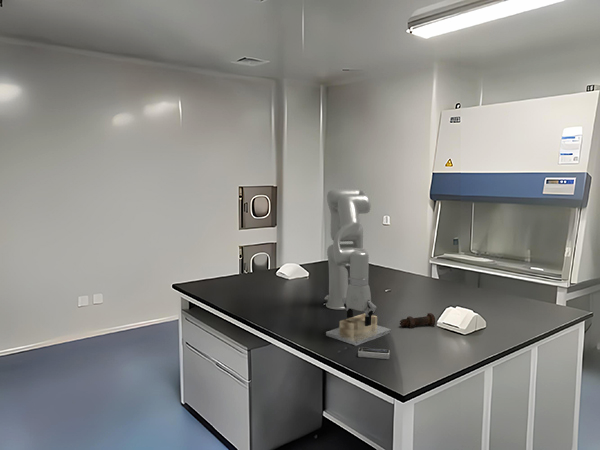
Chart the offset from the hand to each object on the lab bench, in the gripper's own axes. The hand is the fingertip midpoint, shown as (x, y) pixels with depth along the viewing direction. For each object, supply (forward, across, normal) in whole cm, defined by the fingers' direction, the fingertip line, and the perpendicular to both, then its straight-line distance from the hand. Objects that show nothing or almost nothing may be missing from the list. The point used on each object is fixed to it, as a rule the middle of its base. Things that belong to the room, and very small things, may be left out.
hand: (358, 322), depth 188 cm
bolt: (+5, +10, +26) cm, 29 cm away
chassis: (+5, 0, 0) cm, 5 cm away
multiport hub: (+5, +19, -14) cm, 24 cm away
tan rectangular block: (+3, 0, 0) cm, 3 cm away
